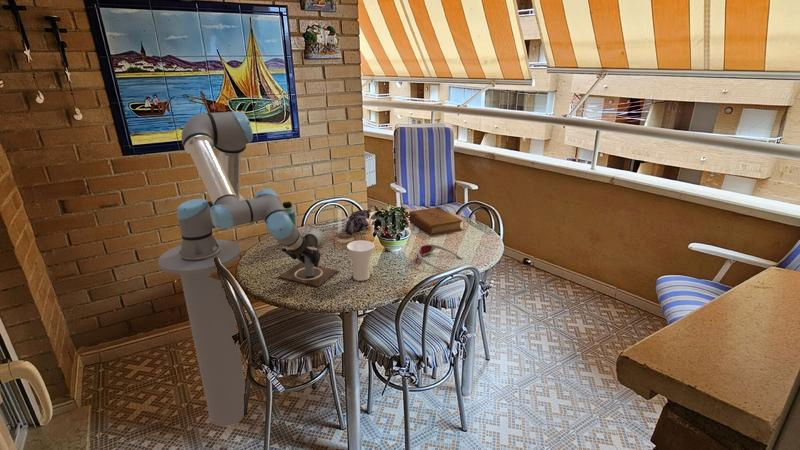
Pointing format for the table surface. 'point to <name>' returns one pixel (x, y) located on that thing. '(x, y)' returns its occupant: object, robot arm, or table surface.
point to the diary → (435, 221)
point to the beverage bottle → (290, 211)
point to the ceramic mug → (314, 237)
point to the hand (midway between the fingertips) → (312, 263)
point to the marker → (308, 267)
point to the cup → (360, 258)
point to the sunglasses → (428, 249)
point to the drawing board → (300, 276)
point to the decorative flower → (357, 221)
